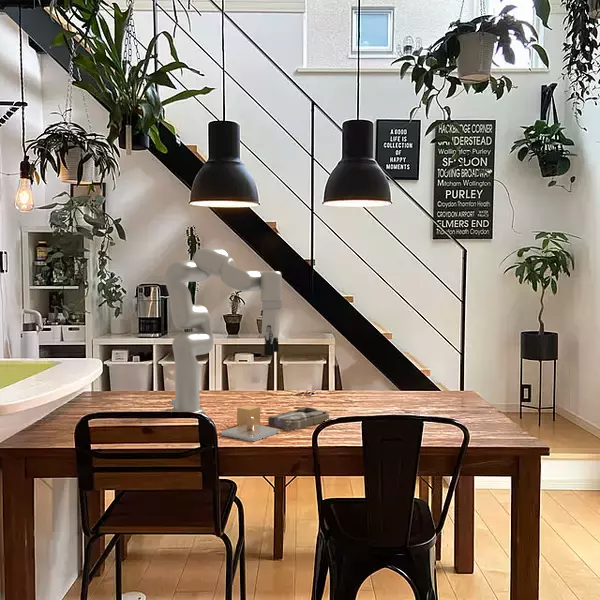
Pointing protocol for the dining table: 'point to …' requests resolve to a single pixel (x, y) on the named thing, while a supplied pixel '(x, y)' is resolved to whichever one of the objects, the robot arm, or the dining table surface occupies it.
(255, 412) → the wooden toy block
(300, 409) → the grey flat case
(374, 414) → the dining table surface
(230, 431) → the plate
